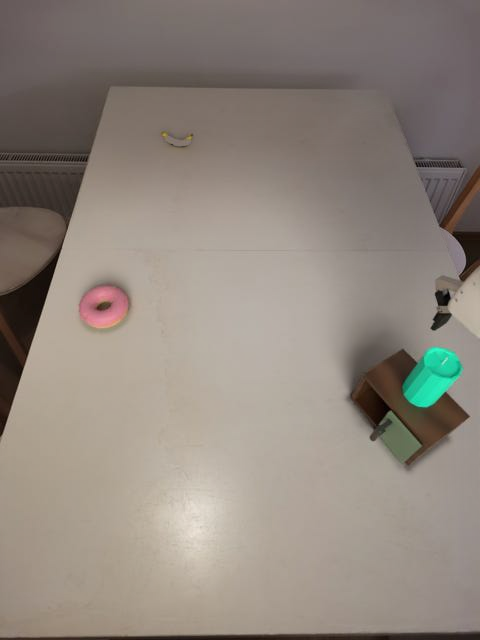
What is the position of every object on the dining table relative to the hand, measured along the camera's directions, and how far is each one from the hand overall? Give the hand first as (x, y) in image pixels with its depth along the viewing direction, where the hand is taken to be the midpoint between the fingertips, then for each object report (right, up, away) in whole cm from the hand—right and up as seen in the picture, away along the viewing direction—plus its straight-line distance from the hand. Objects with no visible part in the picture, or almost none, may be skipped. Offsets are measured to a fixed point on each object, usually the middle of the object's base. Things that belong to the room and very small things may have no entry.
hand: (462, 347), depth 66 cm
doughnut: (-65, +6, +32) cm, 72 cm away
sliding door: (-8, -20, +14) cm, 26 cm away
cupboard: (-3, -15, +18) cm, 24 cm away
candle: (-2, -8, +10) cm, 13 cm away
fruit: (-53, +58, +68) cm, 105 cm away
